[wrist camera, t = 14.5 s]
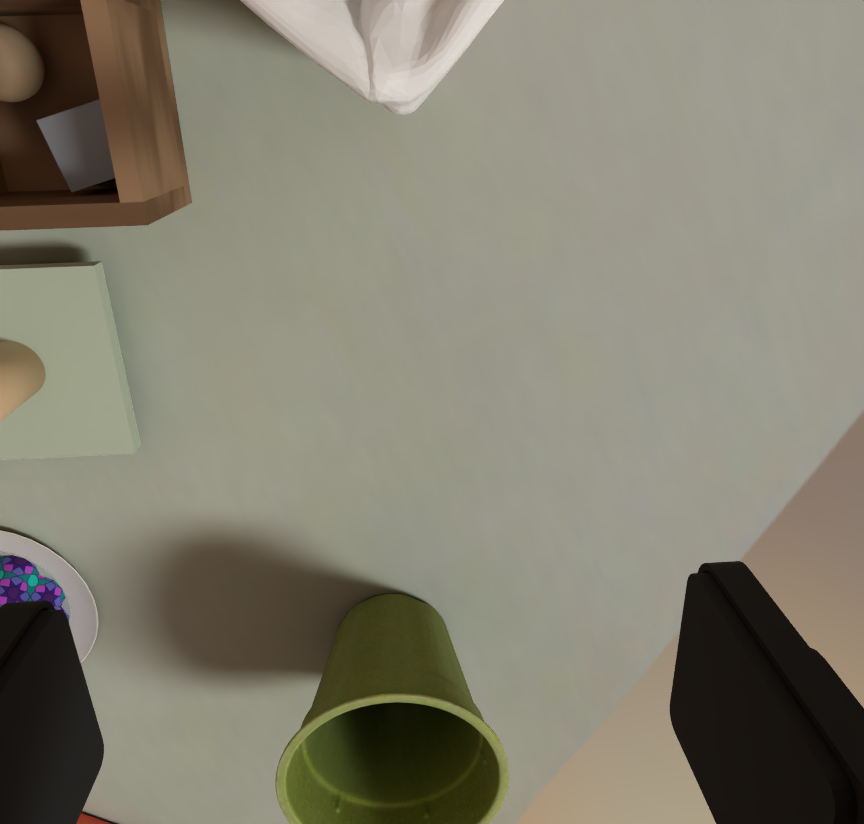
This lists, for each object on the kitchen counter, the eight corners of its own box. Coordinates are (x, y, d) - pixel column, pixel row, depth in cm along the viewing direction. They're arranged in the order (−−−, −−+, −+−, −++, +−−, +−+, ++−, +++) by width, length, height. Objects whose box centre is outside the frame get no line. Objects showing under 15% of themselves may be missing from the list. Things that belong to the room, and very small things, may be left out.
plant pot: (519, 636, 47) (556, 787, 37) (386, 729, 50) (385, 894, 39) (399, 524, 43) (402, 657, 33) (262, 631, 46) (225, 786, 35)
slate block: (66, 119, 32) (36, 120, 29) (127, 98, 32) (103, 98, 29) (97, 185, 33) (71, 192, 31) (156, 165, 33) (136, 171, 30)
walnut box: (-51, -4, 31) (-166, -32, 25) (158, -9, 31) (99, -37, 25) (4, 209, 35) (-83, 233, 28) (191, 202, 35) (147, 224, 29)
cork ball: (-24, 27, 31) (-65, 19, 28) (47, 25, 31) (13, 17, 28) (-5, 103, 32) (-43, 103, 29) (63, 101, 32) (32, 101, 29)
